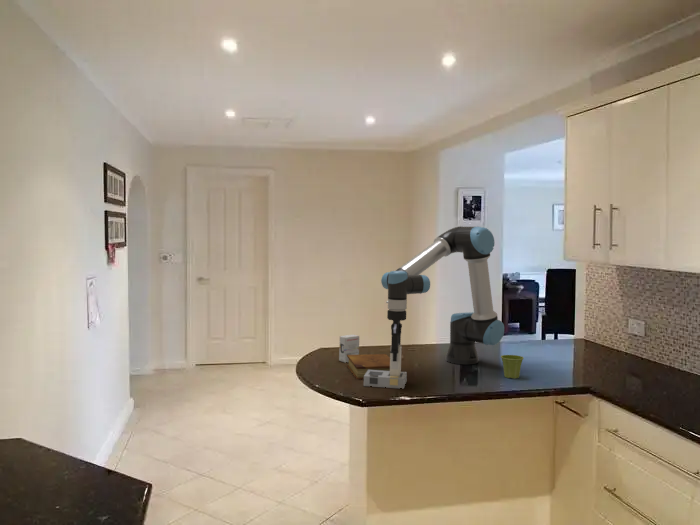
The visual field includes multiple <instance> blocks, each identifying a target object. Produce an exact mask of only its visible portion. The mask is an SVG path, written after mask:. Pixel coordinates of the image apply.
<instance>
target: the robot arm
mask: <svg viewBox="0 0 700 525" xmlns="http://www.w3.org/2000/svg"><path fill="white" fill-rule="evenodd" d="M432 242H433V243H431V244H430V245H428V246H427V247H426V248H424V249H423V250H422V251H420V252H419V253H418V254H417V255H414V257H412V258H411V259H409V260H408V261H407V262H406V263H403V265H401V266H399V268H397V269H395V270H390V271H389V272H385V273H384V274H383V275H382V277H381V280H380V281H381V282H380V284H381V286H382V288H383V289H385V290H387V300H386V303H385V304H387V309H388V310H387V311H386V312H387V316H386V317H387V318H386V319H387V320H389V321H392V323H391V324H390V325H391V326H390V331H391V333H390V335H391V345H390V346H391V351H390V350H389V354H390V353H392V361H391V369H398V361H399V353H398V345H402V344H401V343H402V342H401V340H402V339H401V338H402V327H403V324H402V323H401V321H406V320H407V309H408V308H407V307H408V306H407V305H408V295H415V294H418V295H419V294H420V295H421V294H425V293H428V292H429V291H430V288H431V280H430V278H429V276H427V275H425V274H422V273H423V272H425V271H426V270H428V269H429V268H430V267H431V266H433V265H434V264H436V263H437V262H438V261H439V260H440V259H442V258H443V257H449V256H450V255H452V254H454V253H462V255H463V260H465V261H466V262H467V266H468V267H467V268H468V276H469V283H470V292H471V300H472V307H473V311H472V312H471V311H470V312H456V313H452V314H451V317H450V322H449V323H450V324H449V325H450V327H449V328H450V329H449V330H450V332H449V333H450V334H449V336H450V337H449V346H448V349H447V352H446V354H445V361H446V362H447V361H448V362H447V363H450V362H451V364H454V363H455V364H457V365H474V364H478V363H479V355H478V352H477V349H476V343H479V344H483V345H485V346H495V345H497V344H499V343H500V342H501V341H502V338H503V337H504V334H505V324H504V322H502V321H501V320H499V318H498V313H497V311H494V307H493V306H494V305H493V298H492V288H491V281H490V280H491V278H490V272H489V262H488V259H489V258H490V257H491V252H493V250H494V247H495V237H494V235H493V233H492V231H491V230H489V229H488V228H487V227H484V226H483V227H481V226H456V227H453V228H450V229H448V230H446V231H445V232H443V233H442V234H440V235H438V236H437V237H436V238H434V239H433V241H432ZM402 348H403V347H401V351H402V350H403V349H402Z"/></svg>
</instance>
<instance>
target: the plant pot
mask: <svg viewBox="0 0 700 525" xmlns="http://www.w3.org/2000/svg"><path fill="white" fill-rule="evenodd" d="M500 358H501V361H502V367H503V375H504V378H506V379H509V378H511V379H515V380H516V379H519V378H520V374H521V368H522V363H523V360H524V357H523V356H521V355H514V354H502V355H501V356H500Z"/></svg>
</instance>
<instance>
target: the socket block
mask: <svg viewBox="0 0 700 525" xmlns="http://www.w3.org/2000/svg"><path fill="white" fill-rule="evenodd" d="M407 377H408V374H407V371H401V375H400V377H399V376H390V371H383V370H368V371H367V372H366V374H365V375H364V379H363V387H370V386H372V388H385V387H386V388H385V389H400V388H402V389H405V386H406V385H405V384H407V381H408V380H407V379H408V378H407ZM402 389H401V390H402Z"/></svg>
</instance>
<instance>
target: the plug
mask: <svg viewBox="0 0 700 525" xmlns="http://www.w3.org/2000/svg"><path fill="white" fill-rule="evenodd" d="M401 348H402V344H400V345H398V353H399V361H398V369H391V361H392V353H390V351H391V345H390V348H389V349H390V350H389V357H390V376H399V377H400V375H401V372H402V371H401V370H402V350H401Z"/></svg>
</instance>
